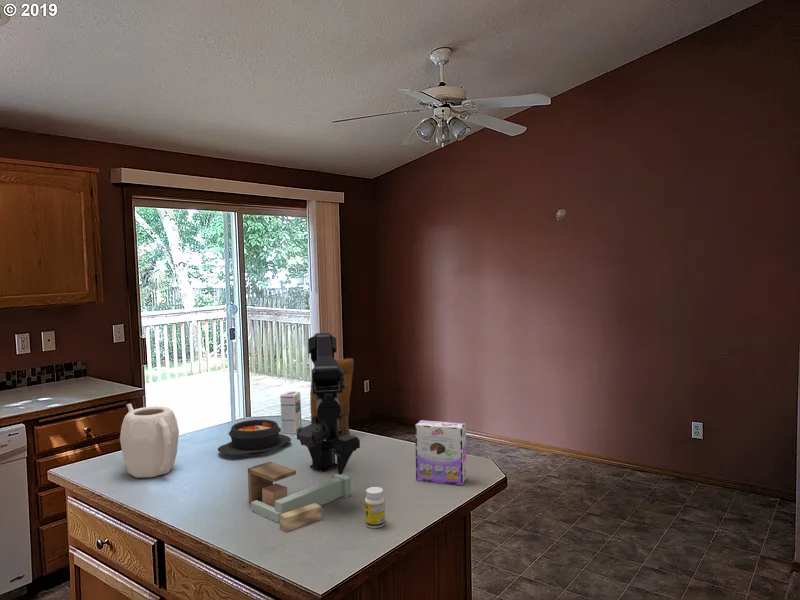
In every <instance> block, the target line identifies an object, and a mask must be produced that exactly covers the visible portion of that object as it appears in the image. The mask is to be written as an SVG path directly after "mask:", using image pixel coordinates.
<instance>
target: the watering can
mask: <svg viewBox="0 0 800 600" xmlns="http://www.w3.org/2000/svg"><path fill="white" fill-rule="evenodd" d="M126 407H127V410H128V412H127V414H126V415H124V418H123V420H122V424H121V427H120V435H119V442H120V447H121V452H122V457H123V458H122V459H123V461H124V465H125V467H126V470H127V472H128V474H129V475H131V477H135V478H137V479H138V478H139V479H140V478H154V477H159V476H160V475H165V474H167V473H169V472H170V471H171V470H172V469H173V468H174V467H175V466H174V465H175V461H176V458H177V455H178V445H179V434H180V430H179V426H178V421H177V418H176V415H175V413H174V411H173V410H172V409H171V408H169V407H166V406H145V407H140V408H135V409H134V408H133V405H132V403H128V404H127V403H126Z"/></svg>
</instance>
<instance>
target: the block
mask: <svg viewBox="0 0 800 600" xmlns="http://www.w3.org/2000/svg"><path fill="white" fill-rule="evenodd" d="M287 496H288V487H287V486H285V485H282V484H280V483H273V485H270V486H267V487H264V488H262V500H261V502H263V503H265V504H267V505H270V506H272V507H274V508H275V501H276V500H279V499H281V498H284V497H287Z"/></svg>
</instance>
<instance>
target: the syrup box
mask: <svg viewBox="0 0 800 600" xmlns="http://www.w3.org/2000/svg"><path fill="white" fill-rule="evenodd" d="M279 397H280V398H279V399H280V422H281V423H280V424H281V434H284V435H285V434H286V435H297V432H298V430H299V429H300V428H303V427H302V407H301V406H302V404H301V401H302V400H301V392H300V391H286V392H284V393H282V394H280V396H279Z"/></svg>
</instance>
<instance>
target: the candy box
mask: <svg viewBox="0 0 800 600" xmlns="http://www.w3.org/2000/svg"><path fill="white" fill-rule="evenodd" d="M414 430H415V431H414V435H415V440H414V441H415V442H414V443H415V445H414V446H415V481H417V480H419V481H418V482H426V481H428V483H435V482H437V484H445V483H447V484H446V485H454V484H456V485H457V486H463V484H464V483H465V482H466V480H467V424H466V423H465V422H454V421H453V422H450V421H438V420H437V421H436V420H426V419H425V420H424V419H421V420H419V421H418V422H417V423H416V424H415V425H414Z"/></svg>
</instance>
